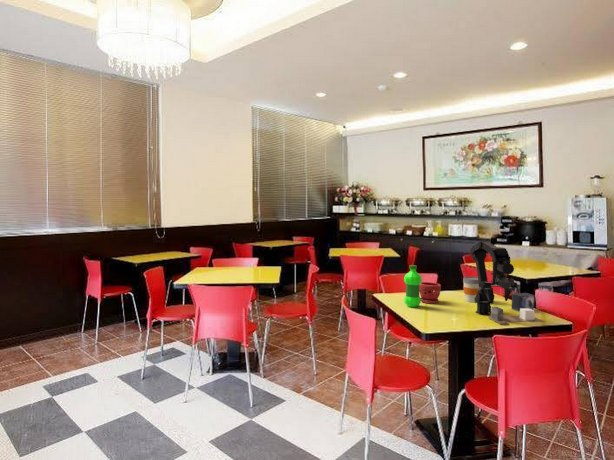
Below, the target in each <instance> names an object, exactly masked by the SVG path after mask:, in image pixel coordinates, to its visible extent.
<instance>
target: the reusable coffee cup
mask: <svg viewBox="0 0 614 460" xmlns="http://www.w3.org/2000/svg"><path fill="white" fill-rule="evenodd" d="M462 283H463V286H462V287H463V293H464V300H465V302H468V303H473V304H474V303H475V304H477V303H476V302H475V297H476V295H477V291H478V288H479V281H478V276H464V277H463V280H462Z"/></svg>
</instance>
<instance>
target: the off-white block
mask: <svg viewBox="0 0 614 460" xmlns="http://www.w3.org/2000/svg"><path fill="white" fill-rule="evenodd" d="M519 316H520V318H522V319H524V320H534V317H535V309H534V310H532V309H529V308H520V312H519Z"/></svg>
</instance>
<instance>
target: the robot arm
mask: <svg viewBox="0 0 614 460" xmlns="http://www.w3.org/2000/svg"><path fill="white" fill-rule="evenodd" d="M469 253H470V256H471V259H472V260H473V261H474V262H475V265H476V266H475V267H476V273H477V277H478V281H479V288H478V291H477V295H476V297H475V302H476V303H475V304H476V311H475V313H476V314H478V315H480V316H491V312H492V306H491V305H494V302H495V301H494V300H495V292H494V288H493V287H500V288H501V289H504V301H505V302H507V301H508V299H509V298H510V295H511V294H512V292H513V291H514V290H516V289H518V288H519V284H518V282H516V281H515V278H513V277H510V278H507V275H511V274H513V273H514V271H515V268H514V265H513V264H512V263H511V257H510V254H509V252H508V250H507V248H506V247H500V246H496V245H494V244H493V243H491V242H490V241H489V240H480V241H478V242H477V243H476V244H474V245H472V246H471V248H470V250H469ZM488 253H489V256H490V257H491V258H492V260H491V262H492V272H491V273H490V274H491V276H492V279H491V280H490V282H489V281H488V274H487V268H486V263H485V260H486V257H487V254H488Z"/></svg>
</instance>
